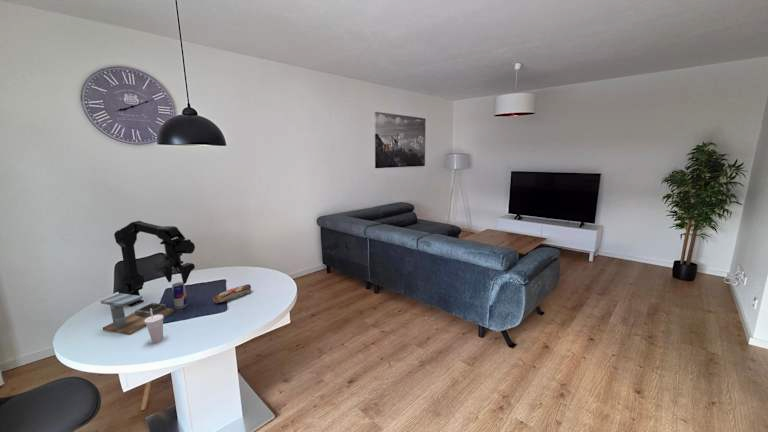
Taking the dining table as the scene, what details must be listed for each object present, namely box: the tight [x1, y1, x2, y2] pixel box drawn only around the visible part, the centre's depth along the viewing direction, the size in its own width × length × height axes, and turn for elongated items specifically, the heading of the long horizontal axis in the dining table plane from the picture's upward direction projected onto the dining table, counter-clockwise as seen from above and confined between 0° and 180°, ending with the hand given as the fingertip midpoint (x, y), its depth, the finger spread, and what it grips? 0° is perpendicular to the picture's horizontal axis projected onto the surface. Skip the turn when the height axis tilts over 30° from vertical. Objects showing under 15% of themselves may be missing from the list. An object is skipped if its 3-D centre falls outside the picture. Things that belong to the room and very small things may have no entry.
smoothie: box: [145, 308, 165, 343], centre depth 129 cm, size 6×6×14 cm
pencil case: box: [212, 283, 252, 304], centre depth 168 cm, size 11×20×5 cm, turn 130°
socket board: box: [100, 293, 175, 336], centre depth 145 cm, size 16×21×14 cm
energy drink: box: [171, 281, 188, 310], centre depth 158 cm, size 5×5×12 cm
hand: (177, 282), depth 157 cm, fingers open, 9 cm apart
